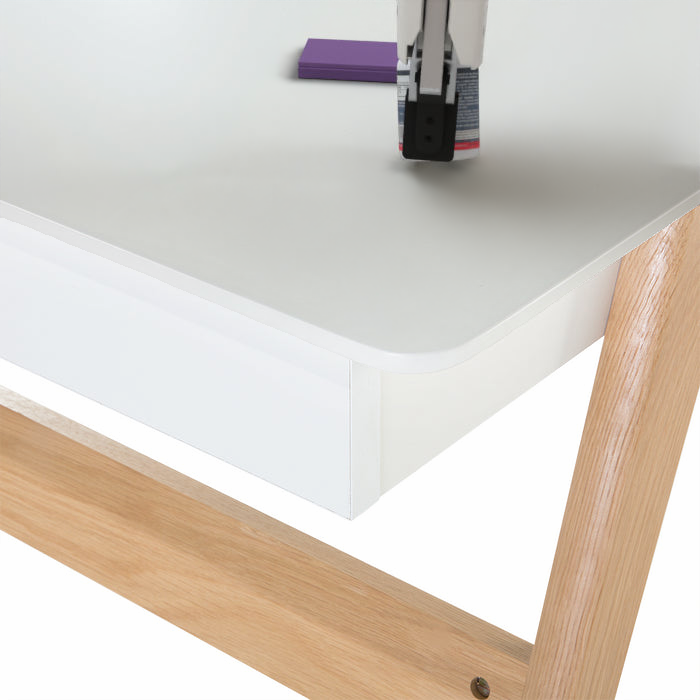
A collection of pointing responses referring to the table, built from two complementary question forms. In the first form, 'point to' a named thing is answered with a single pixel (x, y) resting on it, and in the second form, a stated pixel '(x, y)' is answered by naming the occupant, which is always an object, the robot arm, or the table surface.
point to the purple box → (349, 60)
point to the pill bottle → (466, 116)
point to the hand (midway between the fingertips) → (428, 154)
